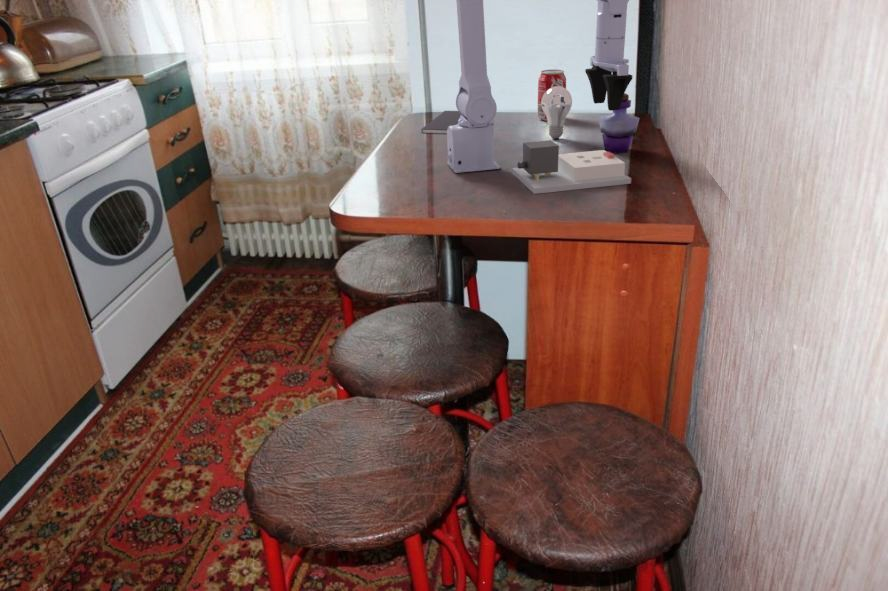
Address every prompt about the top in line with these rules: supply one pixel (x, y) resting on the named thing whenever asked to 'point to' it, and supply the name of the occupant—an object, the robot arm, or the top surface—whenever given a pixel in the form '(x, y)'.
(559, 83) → the soda can
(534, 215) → the top surface
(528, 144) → the plug
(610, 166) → the socket plate
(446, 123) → the notebook
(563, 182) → the socket mat
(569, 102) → the light bulb
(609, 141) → the potion bottle
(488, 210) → the top surface
